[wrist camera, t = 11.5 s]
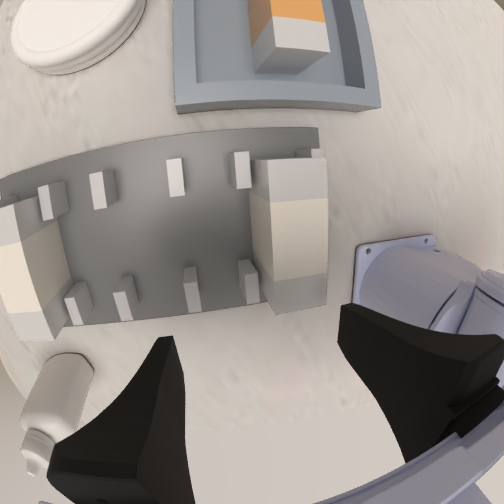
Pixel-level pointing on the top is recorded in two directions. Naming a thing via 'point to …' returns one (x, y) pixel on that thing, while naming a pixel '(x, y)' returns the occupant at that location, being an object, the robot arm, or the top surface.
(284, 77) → the tray
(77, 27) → the white round tin
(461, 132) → the top surface
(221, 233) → the panel
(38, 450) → the eye dropper bottle
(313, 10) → the orange fuse
